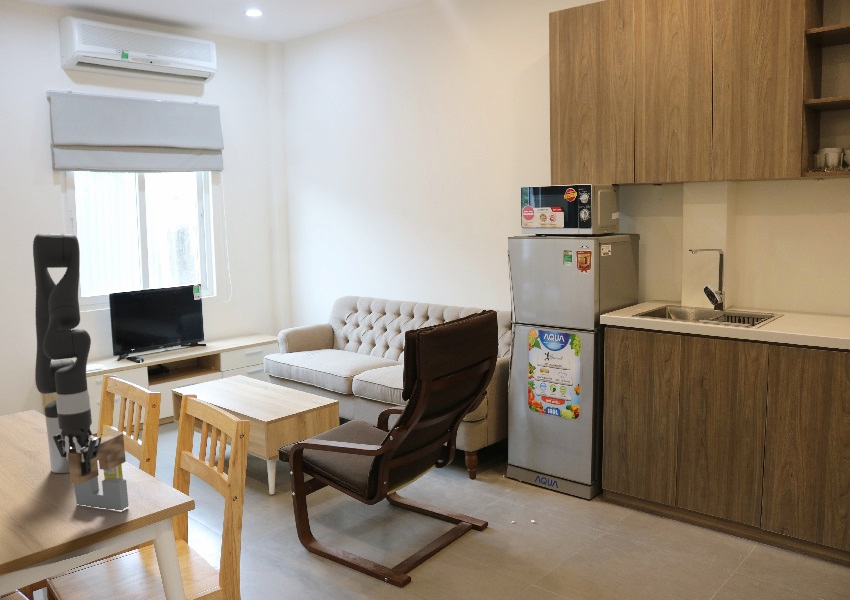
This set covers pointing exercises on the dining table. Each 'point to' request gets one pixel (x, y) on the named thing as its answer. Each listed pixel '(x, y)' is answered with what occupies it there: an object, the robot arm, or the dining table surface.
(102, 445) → the walnut plate
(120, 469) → the supplement bottle
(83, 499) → the grey notched block
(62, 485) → the dining table surface
